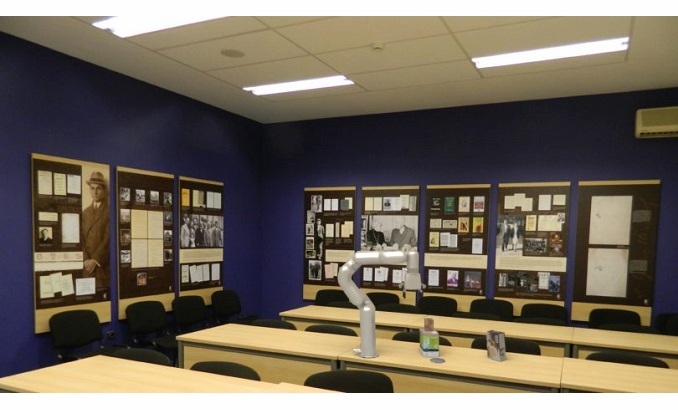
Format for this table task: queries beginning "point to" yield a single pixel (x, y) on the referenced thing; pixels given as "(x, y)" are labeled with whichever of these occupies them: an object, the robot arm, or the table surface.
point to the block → (428, 324)
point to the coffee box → (496, 345)
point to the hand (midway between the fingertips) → (412, 298)
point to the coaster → (437, 360)
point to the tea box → (429, 343)
